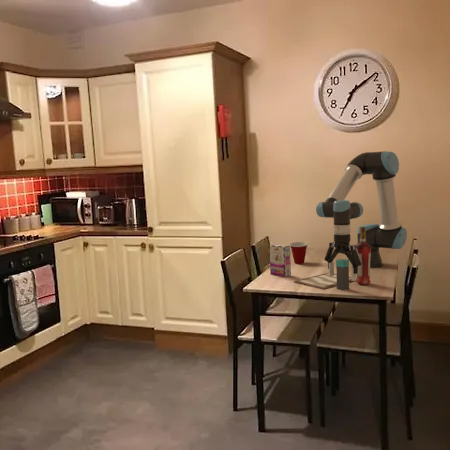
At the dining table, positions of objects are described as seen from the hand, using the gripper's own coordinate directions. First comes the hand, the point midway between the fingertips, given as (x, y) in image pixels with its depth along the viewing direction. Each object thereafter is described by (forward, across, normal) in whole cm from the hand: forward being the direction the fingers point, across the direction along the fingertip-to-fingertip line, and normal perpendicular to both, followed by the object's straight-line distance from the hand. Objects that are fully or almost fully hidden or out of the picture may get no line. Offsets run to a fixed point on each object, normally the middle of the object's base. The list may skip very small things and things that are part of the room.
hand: (342, 278), depth 241 cm
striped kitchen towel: (+5, -16, +6) cm, 18 cm away
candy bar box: (+5, -43, 0) cm, 43 cm away
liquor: (+5, +1, +14) cm, 15 cm away
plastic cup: (+5, -57, +28) cm, 64 cm away
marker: (+5, 0, 0) cm, 5 cm away
